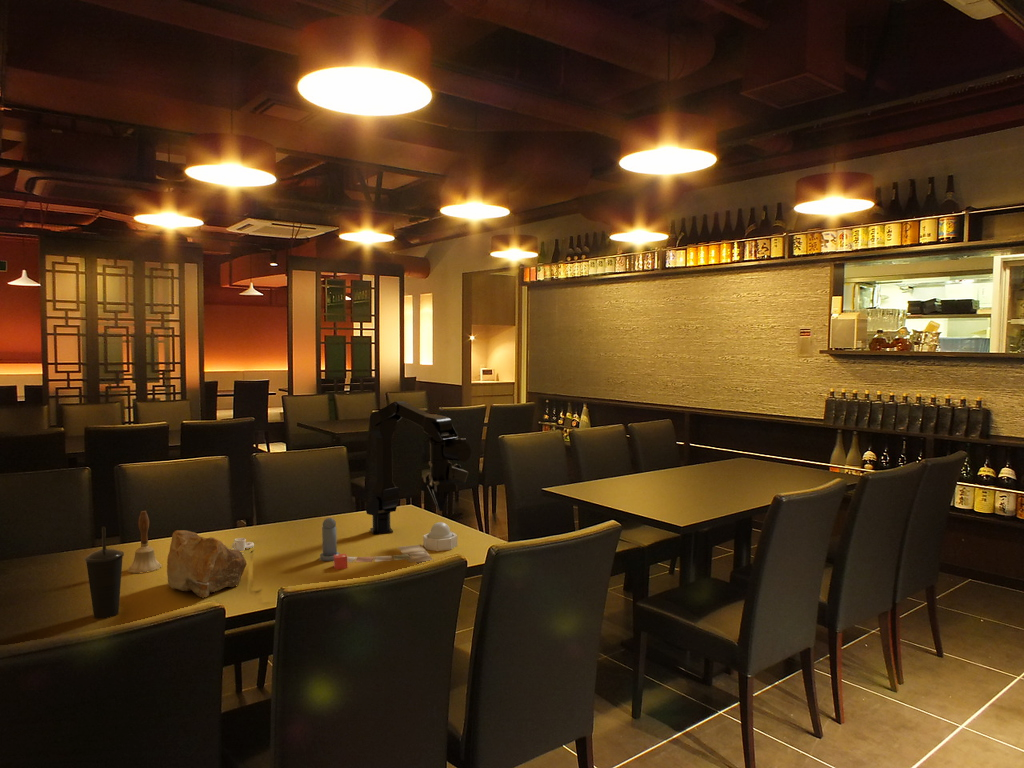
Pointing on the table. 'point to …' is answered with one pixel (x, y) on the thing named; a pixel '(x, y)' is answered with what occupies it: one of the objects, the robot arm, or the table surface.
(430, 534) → the dome button
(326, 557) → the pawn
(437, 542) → the dome housing
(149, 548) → the hand bell
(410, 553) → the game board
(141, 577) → the table surface
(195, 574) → the rough brown rock
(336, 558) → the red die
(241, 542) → the teacup and saucer
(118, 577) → the drinking cup
